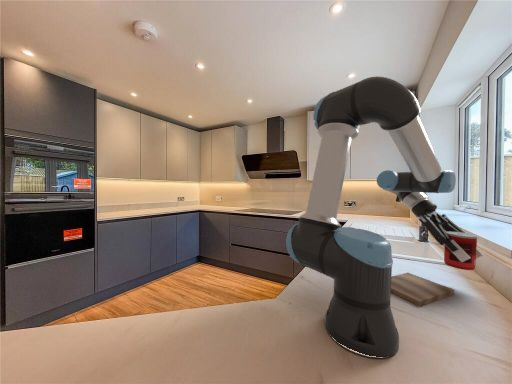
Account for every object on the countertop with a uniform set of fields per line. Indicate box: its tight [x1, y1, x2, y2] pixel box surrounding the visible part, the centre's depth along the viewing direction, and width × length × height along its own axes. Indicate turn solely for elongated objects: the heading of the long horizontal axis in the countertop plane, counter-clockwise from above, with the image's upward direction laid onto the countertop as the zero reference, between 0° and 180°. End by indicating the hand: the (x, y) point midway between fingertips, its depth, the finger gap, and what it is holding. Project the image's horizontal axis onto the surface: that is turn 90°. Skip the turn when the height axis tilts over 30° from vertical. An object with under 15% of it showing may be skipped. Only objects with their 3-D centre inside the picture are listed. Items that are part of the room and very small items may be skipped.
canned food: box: [443, 231, 478, 271], centre depth 71 cm, size 8×8×11 cm
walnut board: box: [391, 272, 456, 307], centre depth 69 cm, size 18×14×2 cm
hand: (472, 258), depth 68 cm, fingers closed on canned food, 8 cm apart
